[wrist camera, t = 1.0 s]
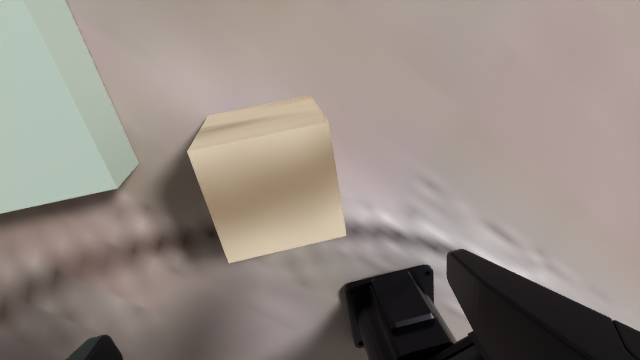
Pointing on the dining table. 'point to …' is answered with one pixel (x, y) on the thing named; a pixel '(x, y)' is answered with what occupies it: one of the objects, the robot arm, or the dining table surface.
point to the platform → (53, 111)
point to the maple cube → (269, 177)
